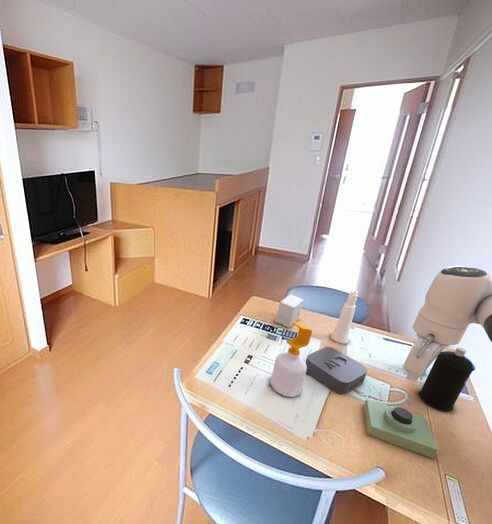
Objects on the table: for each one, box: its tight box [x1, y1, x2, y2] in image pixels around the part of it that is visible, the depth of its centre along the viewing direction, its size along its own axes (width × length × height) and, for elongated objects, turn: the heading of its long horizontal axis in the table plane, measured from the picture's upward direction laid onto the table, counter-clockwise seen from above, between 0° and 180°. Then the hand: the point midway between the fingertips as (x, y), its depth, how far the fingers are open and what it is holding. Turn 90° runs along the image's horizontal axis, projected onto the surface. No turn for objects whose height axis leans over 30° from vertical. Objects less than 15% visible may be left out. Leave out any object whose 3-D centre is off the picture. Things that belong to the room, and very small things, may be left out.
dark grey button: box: [392, 406, 413, 424], centre depth 84 cm, size 4×4×2 cm
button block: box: [363, 398, 439, 459], centre depth 85 cm, size 14×11×5 cm
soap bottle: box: [270, 321, 313, 398], centre depth 95 cm, size 9×9×25 cm
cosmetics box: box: [274, 294, 304, 329], centre depth 134 cm, size 10×6×10 cm, turn 132°
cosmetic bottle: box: [330, 289, 359, 344], centre depth 120 cm, size 6×6×22 cm
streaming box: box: [305, 346, 368, 395], centre depth 104 cm, size 14×14×5 cm
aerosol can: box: [417, 347, 476, 412], centre depth 92 cm, size 8×8×20 cm
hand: (417, 372), depth 80 cm, fingers open, 8 cm apart
